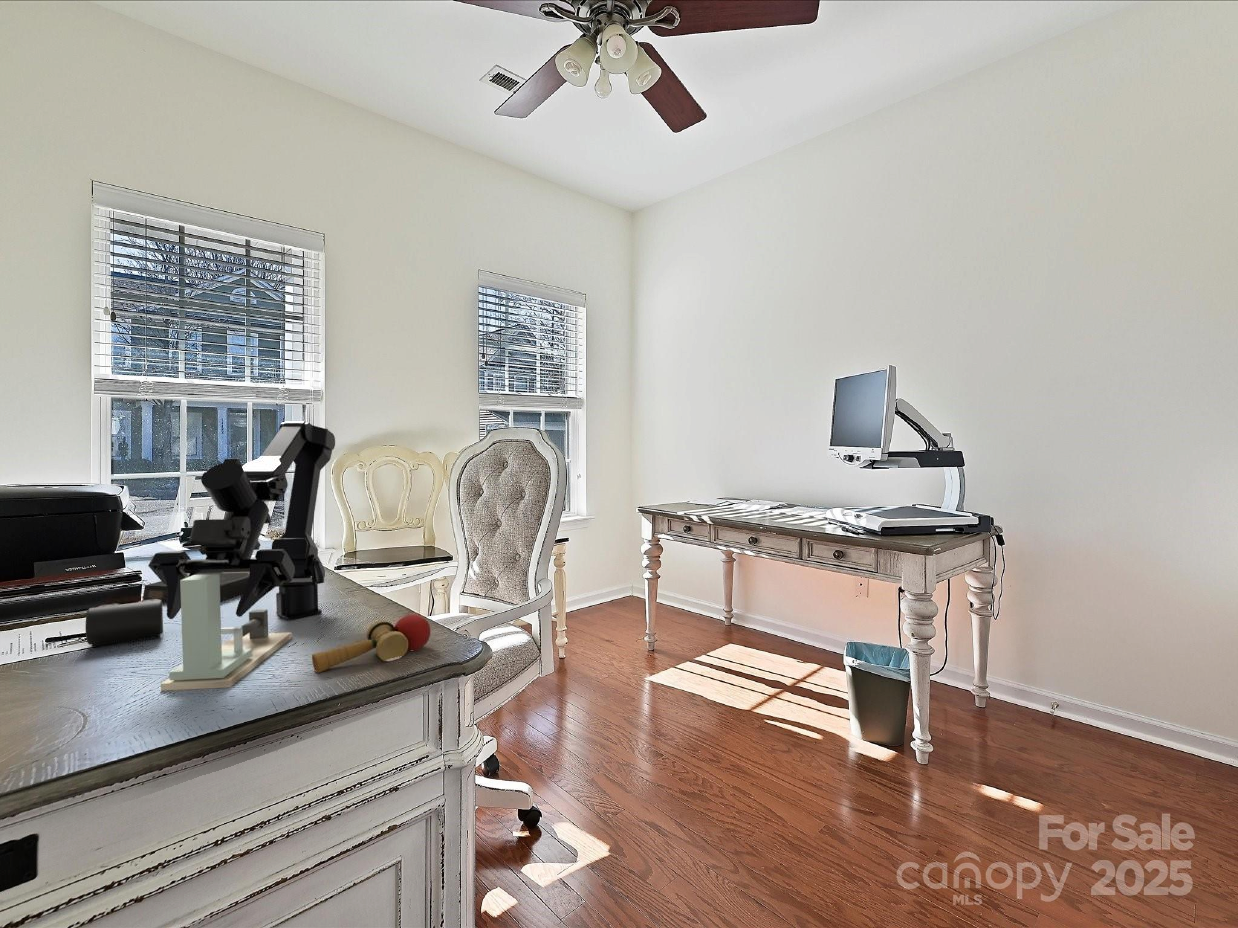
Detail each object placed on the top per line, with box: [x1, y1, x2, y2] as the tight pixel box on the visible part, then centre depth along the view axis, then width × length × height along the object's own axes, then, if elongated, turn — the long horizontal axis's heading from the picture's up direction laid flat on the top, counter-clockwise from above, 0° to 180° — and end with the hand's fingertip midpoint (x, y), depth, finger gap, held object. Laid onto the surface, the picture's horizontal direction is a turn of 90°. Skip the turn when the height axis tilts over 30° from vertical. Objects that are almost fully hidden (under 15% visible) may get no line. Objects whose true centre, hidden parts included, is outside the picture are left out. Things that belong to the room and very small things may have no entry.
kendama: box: [311, 613, 431, 674], centre depth 96 cm, size 8×6×18 cm
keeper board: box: [160, 609, 293, 692], centre depth 94 cm, size 21×9×6 cm, turn 7°
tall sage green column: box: [168, 574, 252, 680], centre depth 88 cm, size 8×7×14 cm
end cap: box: [85, 598, 164, 648], centre depth 104 cm, size 10×7×7 cm
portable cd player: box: [142, 572, 249, 604], centre depth 135 cm, size 16×17×4 cm
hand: (204, 616), depth 86 cm, fingers open, 9 cm apart
